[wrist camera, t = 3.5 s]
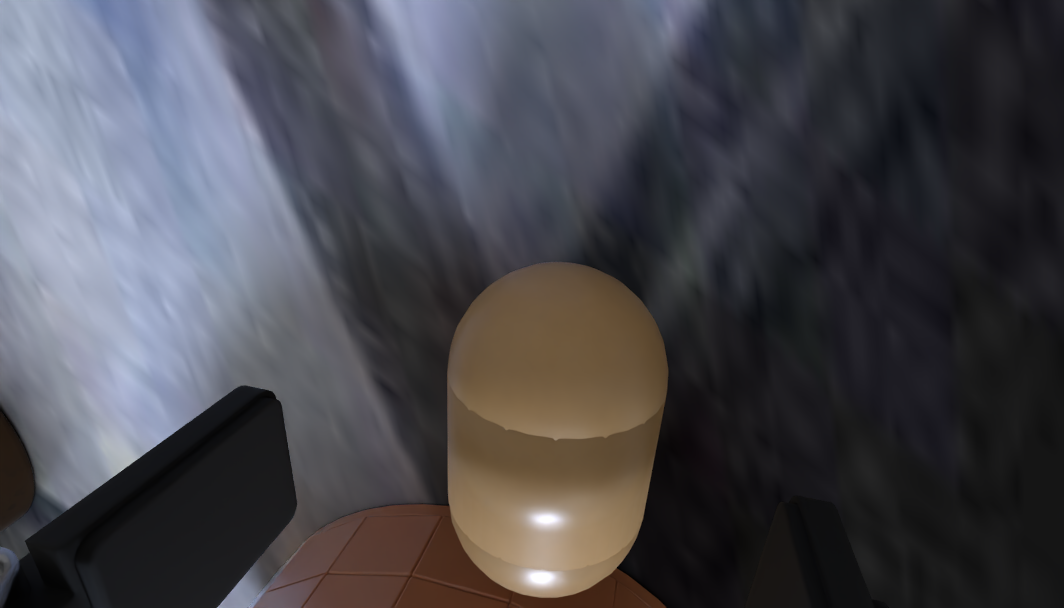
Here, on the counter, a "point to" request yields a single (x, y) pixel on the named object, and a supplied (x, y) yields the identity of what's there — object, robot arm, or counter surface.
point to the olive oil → (13, 476)
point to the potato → (553, 426)
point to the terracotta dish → (413, 569)
